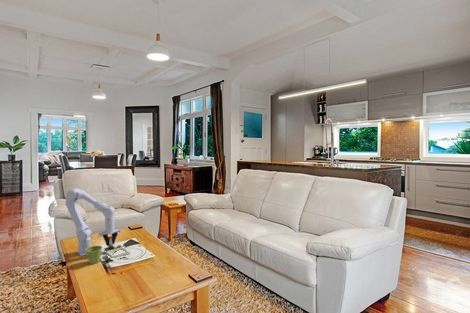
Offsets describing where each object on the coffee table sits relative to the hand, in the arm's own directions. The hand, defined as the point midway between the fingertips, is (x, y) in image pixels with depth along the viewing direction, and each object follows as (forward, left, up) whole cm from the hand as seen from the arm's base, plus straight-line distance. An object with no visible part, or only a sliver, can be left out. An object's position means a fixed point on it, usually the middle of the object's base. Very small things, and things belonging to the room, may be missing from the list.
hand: (110, 244), depth 191 cm
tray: (+11, +1, -5) cm, 12 cm away
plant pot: (+9, -13, -5) cm, 17 cm away
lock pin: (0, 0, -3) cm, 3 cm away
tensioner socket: (0, 0, -5) cm, 5 cm away
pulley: (0, +7, -5) cm, 9 cm away
